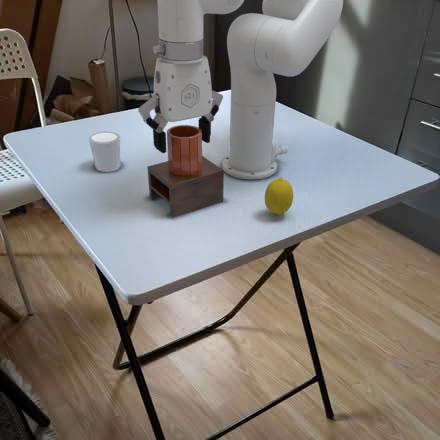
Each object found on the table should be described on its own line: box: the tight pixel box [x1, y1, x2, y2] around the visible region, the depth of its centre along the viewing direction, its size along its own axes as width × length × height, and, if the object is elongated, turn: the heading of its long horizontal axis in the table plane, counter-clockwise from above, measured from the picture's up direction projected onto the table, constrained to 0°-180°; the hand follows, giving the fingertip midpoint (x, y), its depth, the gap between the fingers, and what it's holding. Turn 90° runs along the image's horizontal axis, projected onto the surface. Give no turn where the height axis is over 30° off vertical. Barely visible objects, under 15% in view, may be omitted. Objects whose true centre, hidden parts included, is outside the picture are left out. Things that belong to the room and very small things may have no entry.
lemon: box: [264, 177, 294, 216], centre depth 101 cm, size 6×6×8 cm
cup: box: [166, 124, 203, 176], centre depth 101 cm, size 7×7×8 cm
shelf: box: [146, 155, 225, 218], centre depth 105 cm, size 12×10×7 cm
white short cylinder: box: [88, 131, 122, 173], centre depth 117 cm, size 7×7×7 cm
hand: (182, 145), depth 100 cm, fingers open, 9 cm apart
